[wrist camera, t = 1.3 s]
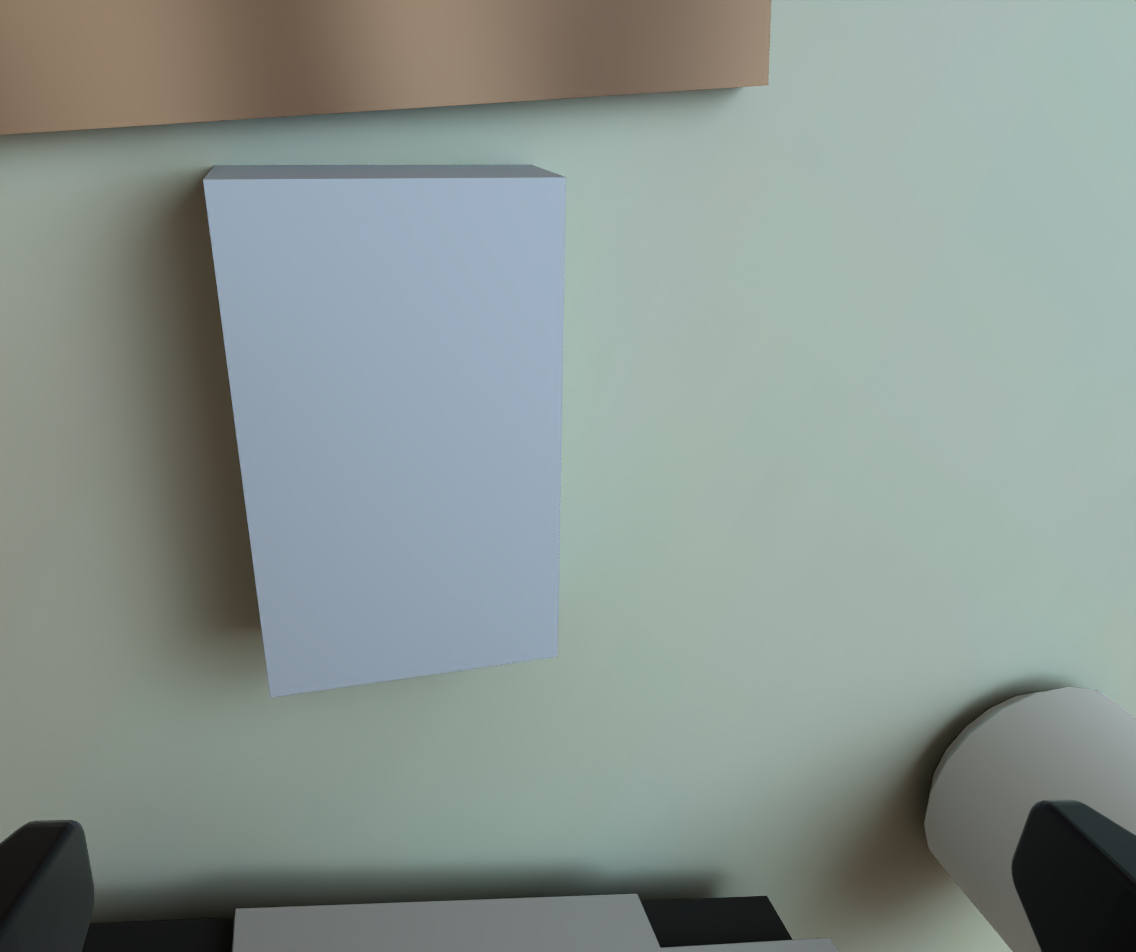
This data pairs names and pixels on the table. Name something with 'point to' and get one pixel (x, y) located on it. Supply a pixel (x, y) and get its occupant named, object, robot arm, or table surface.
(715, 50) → the board
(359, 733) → the table surface
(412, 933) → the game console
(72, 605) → the table surface
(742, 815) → the table surface
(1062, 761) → the can
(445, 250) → the blue-grey rectangular block
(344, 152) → the table surface
